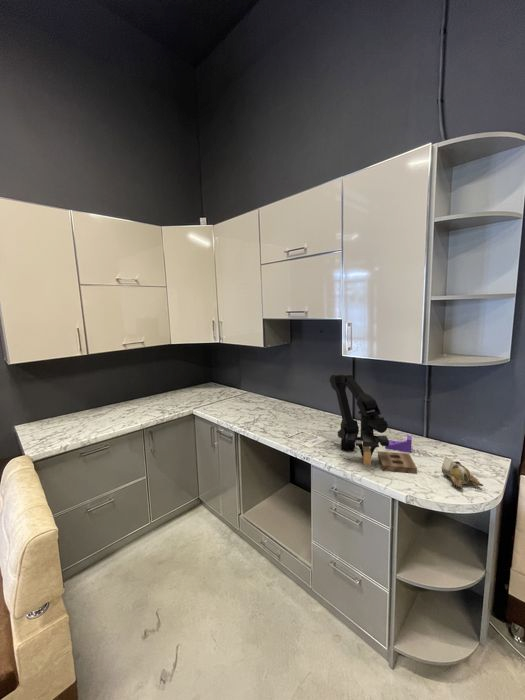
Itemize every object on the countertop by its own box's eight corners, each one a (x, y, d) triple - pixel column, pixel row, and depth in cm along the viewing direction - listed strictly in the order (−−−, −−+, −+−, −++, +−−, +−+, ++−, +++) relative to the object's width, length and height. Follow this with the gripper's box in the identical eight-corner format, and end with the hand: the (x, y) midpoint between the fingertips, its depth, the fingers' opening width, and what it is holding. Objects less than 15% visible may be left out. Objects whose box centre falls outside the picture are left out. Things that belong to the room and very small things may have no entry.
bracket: (411, 447, 158) (411, 435, 158) (411, 453, 152) (411, 440, 151) (386, 443, 164) (386, 431, 163) (385, 449, 157) (385, 436, 157)
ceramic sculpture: (457, 452, 133) (486, 471, 118) (455, 470, 134) (484, 491, 120) (434, 454, 131) (461, 474, 117) (433, 472, 133) (459, 494, 118)
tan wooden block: (364, 465, 141) (364, 452, 140) (362, 457, 148) (362, 444, 148) (370, 466, 140) (371, 452, 139) (368, 457, 148) (368, 445, 147)
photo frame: (309, 447, 160) (285, 437, 173) (309, 449, 160) (285, 439, 173) (327, 439, 169) (302, 430, 183) (327, 441, 169) (302, 432, 183)
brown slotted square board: (382, 470, 136) (382, 465, 135) (377, 456, 149) (377, 451, 149) (416, 473, 133) (417, 468, 132) (408, 458, 146) (408, 453, 146)
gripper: (347, 430, 136) (346, 463, 138) (391, 433, 132) (390, 467, 134) (345, 421, 147) (345, 452, 149) (387, 423, 143) (386, 455, 145)
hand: (366, 457), depth 144 cm, fingers closed on tan wooden block, 3 cm apart
